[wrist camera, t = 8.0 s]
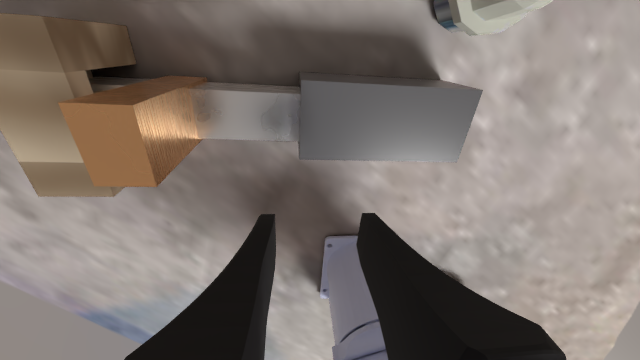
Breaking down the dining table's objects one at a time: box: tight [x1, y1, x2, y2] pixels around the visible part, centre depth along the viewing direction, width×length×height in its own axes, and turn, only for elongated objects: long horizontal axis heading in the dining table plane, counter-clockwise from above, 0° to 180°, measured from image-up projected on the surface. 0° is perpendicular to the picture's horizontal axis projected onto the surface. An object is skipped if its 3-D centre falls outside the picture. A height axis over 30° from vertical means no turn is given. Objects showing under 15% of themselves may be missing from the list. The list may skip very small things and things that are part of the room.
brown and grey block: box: [58, 76, 301, 187], centre depth 14 cm, size 4×16×9 cm, turn 87°
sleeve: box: [298, 72, 483, 162], centre depth 17 cm, size 5×11×5 cm, turn 87°
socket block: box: [0, 13, 136, 197], centre depth 15 cm, size 9×4×6 cm, turn 176°
